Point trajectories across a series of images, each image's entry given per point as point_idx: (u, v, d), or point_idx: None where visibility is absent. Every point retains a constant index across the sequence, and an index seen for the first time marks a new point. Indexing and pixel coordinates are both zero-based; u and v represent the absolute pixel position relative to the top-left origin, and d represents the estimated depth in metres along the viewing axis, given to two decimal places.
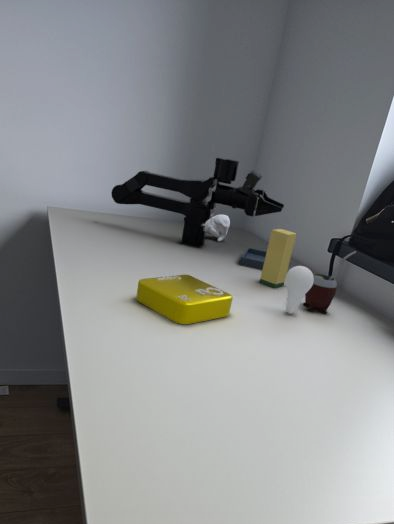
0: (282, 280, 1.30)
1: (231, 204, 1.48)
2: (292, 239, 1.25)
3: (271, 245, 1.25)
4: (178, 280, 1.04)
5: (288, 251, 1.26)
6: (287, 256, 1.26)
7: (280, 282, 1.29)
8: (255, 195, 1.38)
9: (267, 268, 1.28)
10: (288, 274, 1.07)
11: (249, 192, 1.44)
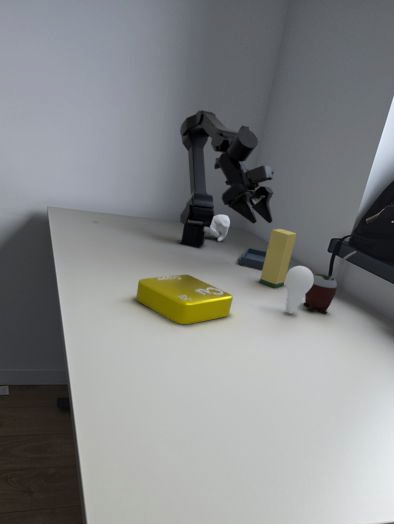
0: (282, 280, 1.30)
1: (227, 178, 1.31)
2: (292, 239, 1.25)
3: (271, 245, 1.25)
4: (178, 280, 1.04)
5: (288, 251, 1.26)
6: (287, 256, 1.26)
7: (280, 282, 1.29)
8: (239, 188, 1.22)
9: (267, 268, 1.28)
10: (288, 274, 1.07)
11: (246, 182, 1.28)
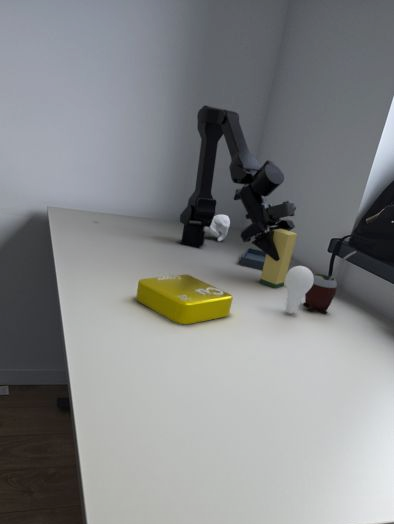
0: (282, 280, 1.30)
1: (247, 212, 1.28)
2: (292, 239, 1.25)
3: None
4: (178, 280, 1.04)
5: (289, 251, 1.26)
6: (287, 256, 1.26)
7: (280, 282, 1.29)
8: (259, 228, 1.19)
9: (267, 268, 1.28)
10: (288, 274, 1.07)
11: (267, 218, 1.24)
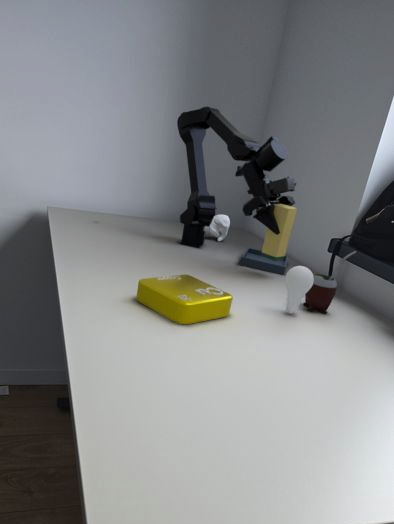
0: (282, 254, 1.35)
1: (249, 187, 1.33)
2: (292, 213, 1.30)
3: None
4: (178, 280, 1.04)
5: (289, 225, 1.31)
6: (287, 230, 1.31)
7: (281, 255, 1.34)
8: (260, 201, 1.24)
9: (268, 242, 1.33)
10: (288, 274, 1.07)
11: (268, 193, 1.29)
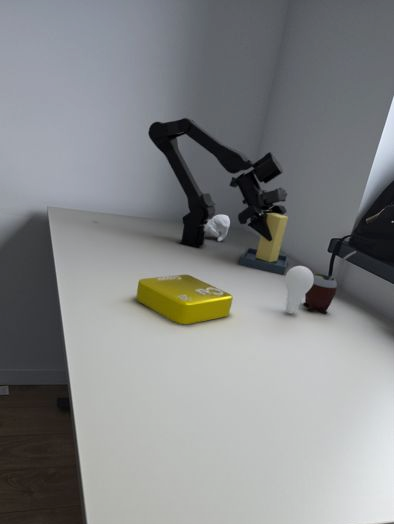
0: (275, 259, 1.46)
1: (244, 198, 1.44)
2: (284, 222, 1.41)
3: None
4: (178, 280, 1.04)
5: (280, 232, 1.42)
6: (279, 237, 1.42)
7: (273, 260, 1.45)
8: (254, 211, 1.35)
9: (261, 247, 1.44)
10: (288, 274, 1.07)
11: (261, 203, 1.40)
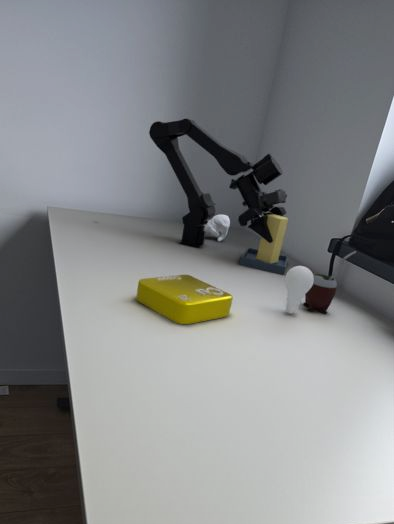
0: (275, 260, 1.46)
1: (244, 199, 1.44)
2: (284, 223, 1.41)
3: None
4: (178, 280, 1.04)
5: (281, 234, 1.42)
6: (280, 238, 1.42)
7: (274, 262, 1.45)
8: (255, 213, 1.35)
9: (262, 249, 1.44)
10: (288, 274, 1.07)
11: (261, 205, 1.40)
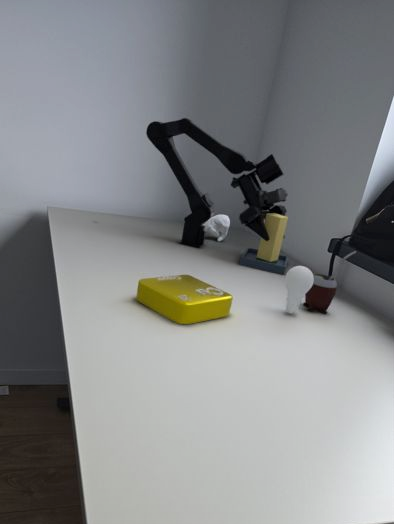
0: (276, 258, 1.48)
1: (245, 198, 1.46)
2: (284, 222, 1.44)
3: (266, 227, 1.44)
4: (178, 280, 1.04)
5: (281, 232, 1.44)
6: (280, 236, 1.45)
7: (274, 260, 1.48)
8: (255, 211, 1.38)
9: (262, 247, 1.46)
10: (288, 274, 1.07)
11: (262, 203, 1.43)
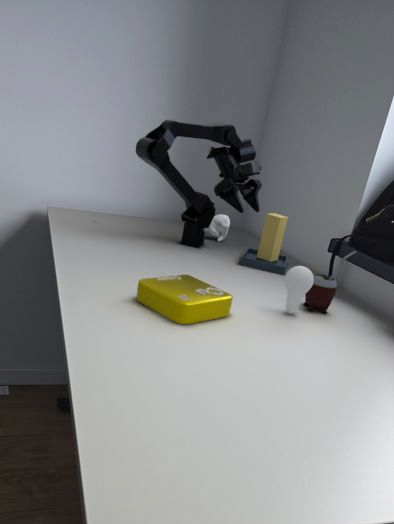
0: (276, 258, 1.48)
1: (220, 171, 1.49)
2: (284, 222, 1.44)
3: (266, 227, 1.44)
4: (178, 280, 1.04)
5: (281, 232, 1.44)
6: (280, 236, 1.45)
7: (274, 260, 1.48)
8: (229, 182, 1.41)
9: (262, 247, 1.46)
10: (288, 274, 1.07)
11: (236, 176, 1.46)
